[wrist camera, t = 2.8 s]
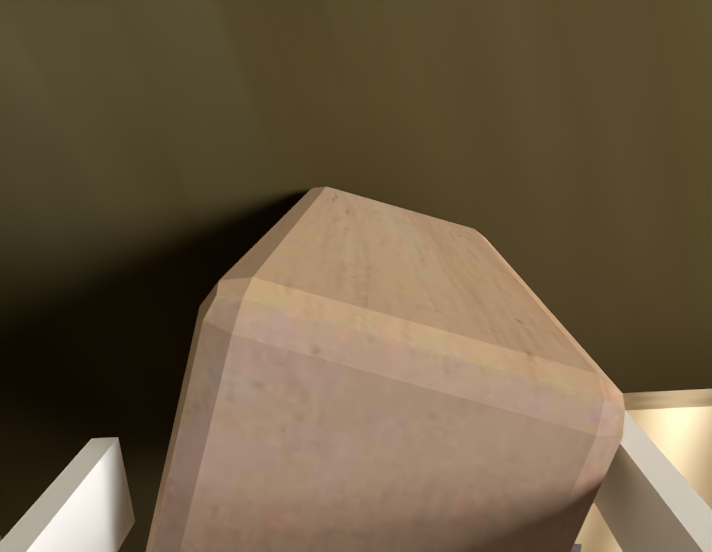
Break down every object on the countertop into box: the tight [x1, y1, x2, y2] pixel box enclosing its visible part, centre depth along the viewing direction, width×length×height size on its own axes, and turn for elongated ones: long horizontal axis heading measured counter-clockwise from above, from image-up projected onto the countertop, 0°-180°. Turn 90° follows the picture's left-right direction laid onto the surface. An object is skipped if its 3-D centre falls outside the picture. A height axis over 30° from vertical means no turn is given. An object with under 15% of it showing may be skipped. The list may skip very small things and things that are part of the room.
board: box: [571, 389, 712, 552], centre depth 35 cm, size 26×16×2 cm, turn 94°
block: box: [146, 187, 625, 552], centre depth 23 cm, size 10×10×20 cm
